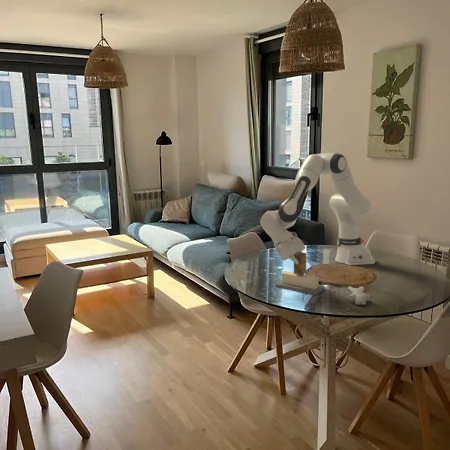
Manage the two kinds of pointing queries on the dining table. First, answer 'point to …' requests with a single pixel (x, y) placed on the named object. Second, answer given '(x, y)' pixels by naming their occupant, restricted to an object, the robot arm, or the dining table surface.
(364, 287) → the wooden tablet
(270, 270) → the dining table surface
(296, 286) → the stand
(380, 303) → the dining table surface
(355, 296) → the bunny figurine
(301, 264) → the walnut pillar
